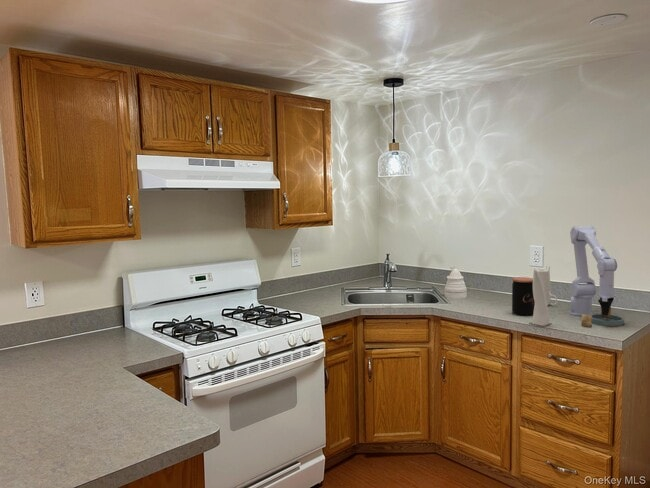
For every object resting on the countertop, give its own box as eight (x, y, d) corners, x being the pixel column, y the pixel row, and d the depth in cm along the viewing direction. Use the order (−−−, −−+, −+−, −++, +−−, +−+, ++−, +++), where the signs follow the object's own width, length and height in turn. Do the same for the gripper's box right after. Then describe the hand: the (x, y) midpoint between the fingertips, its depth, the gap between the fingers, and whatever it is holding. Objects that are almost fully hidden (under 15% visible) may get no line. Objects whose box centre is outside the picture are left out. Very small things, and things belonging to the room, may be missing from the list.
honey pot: (441, 297, 301) (441, 267, 299) (449, 293, 311) (449, 264, 310) (462, 299, 293) (462, 268, 292) (469, 295, 304) (469, 265, 302)
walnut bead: (600, 317, 230) (600, 306, 230) (601, 315, 234) (601, 305, 233) (610, 318, 228) (610, 307, 228) (611, 316, 231) (611, 306, 231)
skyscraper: (554, 324, 232) (555, 265, 230) (544, 327, 228) (545, 266, 225) (537, 321, 239) (538, 263, 236) (527, 324, 234) (528, 265, 232)
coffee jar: (524, 317, 248) (524, 281, 246) (507, 313, 257) (507, 278, 255) (539, 314, 253) (539, 279, 251) (522, 310, 262) (522, 276, 260)
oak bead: (580, 326, 228) (581, 315, 228) (582, 324, 232) (582, 313, 231) (590, 327, 226) (590, 316, 226) (591, 325, 230) (592, 314, 229)
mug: (531, 305, 273) (531, 291, 273) (537, 302, 279) (537, 288, 279) (554, 308, 265) (554, 293, 264) (560, 305, 271) (560, 291, 270)
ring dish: (587, 323, 232) (587, 318, 232) (591, 317, 244) (591, 312, 244) (622, 327, 224) (622, 322, 224) (624, 320, 236) (624, 315, 236)
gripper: (615, 288, 221) (614, 318, 222) (617, 283, 233) (617, 311, 234) (597, 287, 225) (596, 316, 226) (600, 282, 237) (600, 310, 238)
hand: (605, 314), depth 231 cm, fingers closed on walnut bead, 4 cm apart
